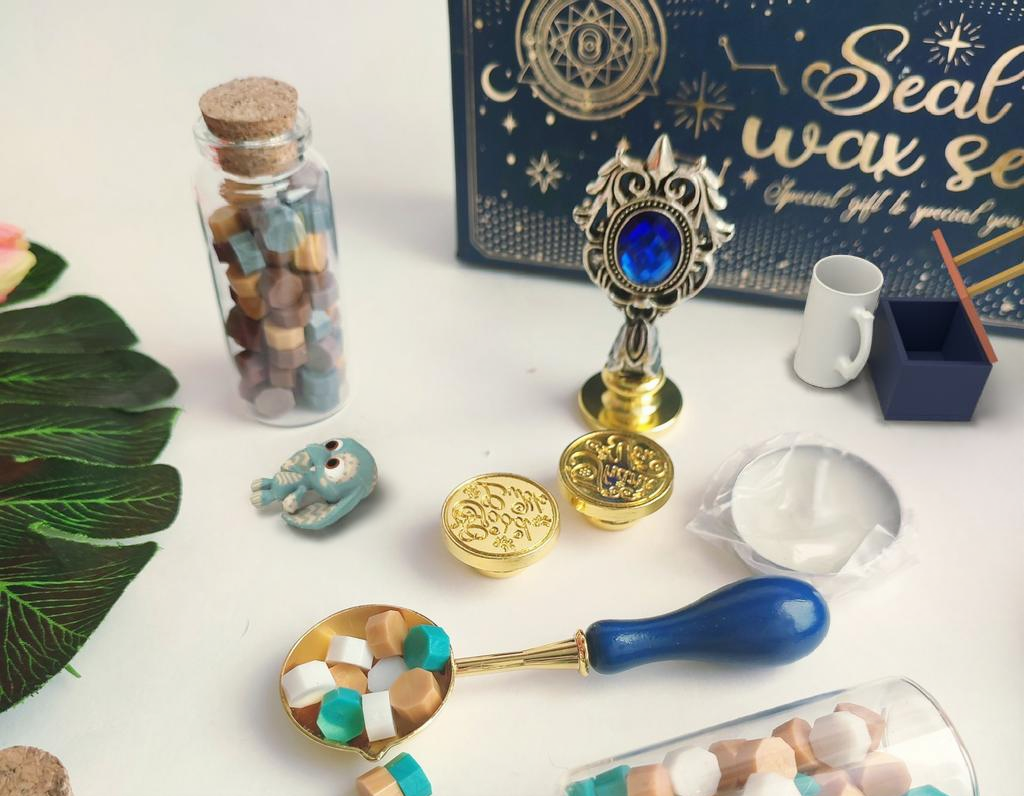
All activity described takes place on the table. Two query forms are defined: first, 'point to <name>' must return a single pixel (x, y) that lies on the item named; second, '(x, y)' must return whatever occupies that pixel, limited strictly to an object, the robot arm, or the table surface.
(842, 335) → the mug
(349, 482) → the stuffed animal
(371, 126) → the table surface
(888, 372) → the blue open box
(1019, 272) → the lid
